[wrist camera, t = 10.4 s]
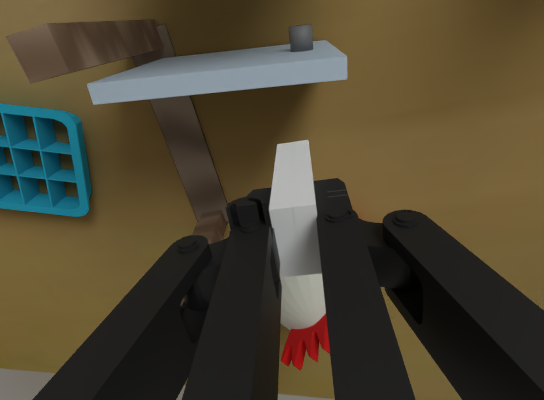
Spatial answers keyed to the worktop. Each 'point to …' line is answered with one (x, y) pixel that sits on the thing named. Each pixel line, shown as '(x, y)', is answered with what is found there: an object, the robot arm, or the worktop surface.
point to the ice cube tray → (43, 163)
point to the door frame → (169, 111)
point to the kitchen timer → (303, 318)
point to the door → (227, 71)
